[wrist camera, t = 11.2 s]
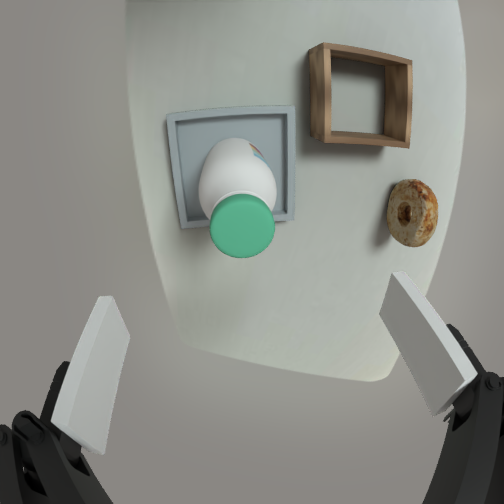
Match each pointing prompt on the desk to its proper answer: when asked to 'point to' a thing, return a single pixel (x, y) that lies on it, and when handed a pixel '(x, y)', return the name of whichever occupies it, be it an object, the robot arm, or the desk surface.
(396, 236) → the bagel
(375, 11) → the desk surface
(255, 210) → the milk bottle
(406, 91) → the open wooden box frame
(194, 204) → the tray
